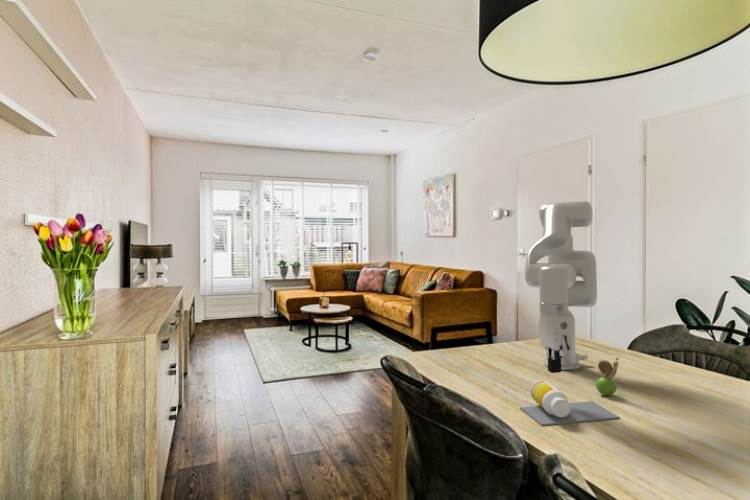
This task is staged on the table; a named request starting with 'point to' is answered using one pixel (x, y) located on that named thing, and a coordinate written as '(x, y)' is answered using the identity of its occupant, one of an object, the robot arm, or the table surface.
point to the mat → (571, 414)
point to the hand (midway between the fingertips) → (554, 371)
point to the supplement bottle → (550, 398)
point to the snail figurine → (607, 377)
